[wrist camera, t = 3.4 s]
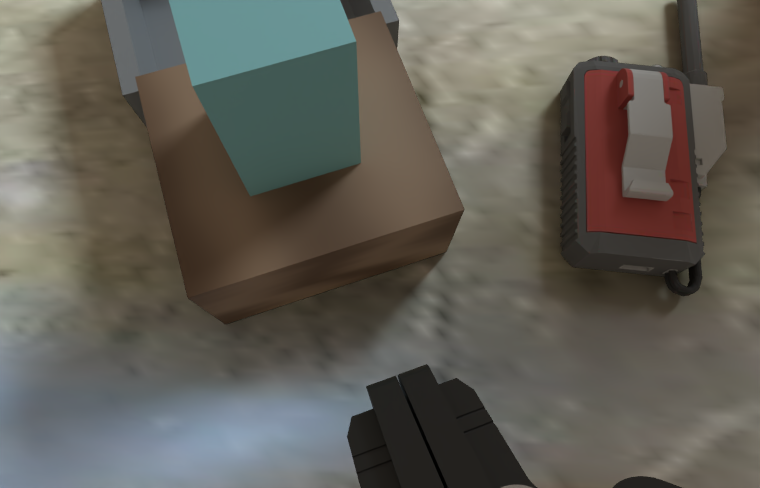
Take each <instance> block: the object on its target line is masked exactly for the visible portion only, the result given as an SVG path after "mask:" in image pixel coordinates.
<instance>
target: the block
mask: <svg viewBox="0 0 760 488" xmlns="http://www.w3.org/2000/svg"><path fill="white" fill-rule="evenodd" d="M169 3H170V7H171V11H172V14H173V18H174V22H175V25H176V29H177V32H178V36H179V40H180V43H181V47H182V51H183V54H184V58H185V61H186V65H187V69H188V72H189V76H190V80H191V83H192V87H193V89H194V90H195V92H196V94H197V96H198V98H199V100H200V102H201V104H202V106H203V108H204V109H205V111H206V113H207V115H208V117H209V119H210V121H211V123H212V125H213V127H214V128H215V130H216V132H217V134H218V136H219V138H220V140H221V142H222V144H223V146H224V148H225V149H226V151H227V153H228V155H229V157H230V159H231V161H232V163H233V165H234V167H235V168H236V170H237V172H238V174H239V176H240V178H241V180H242V182H243V184H244V186H245V187H246V189H247V191H248V193H249V195H250V196H253V195H257V194H260V193H263V192H267V191H270V190H273V189H277V188H280V187H283V186H287V185H290V184H293V183H297V182H300V181H303V180H307V179H310V178H313V177H316V176H320V175H323V174H326V173H330V172H333V171H336V170H340V169H343V168H346V167H350V166H353V165H356V164H360V163H361V150H360V124H359V97H358V71H357V45H356V39H355V37H354V34H353V32H352V29H351V26H350V24H349V21H348V19H347V16H346V14H345V11H344V9H343V6H342V4H341V1H340V0H169Z"/></svg>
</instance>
